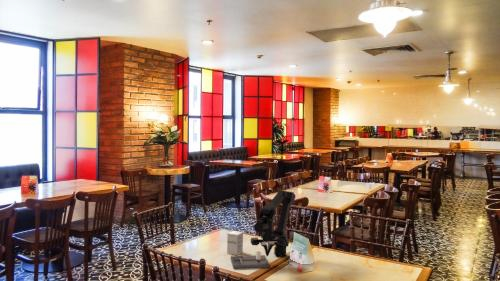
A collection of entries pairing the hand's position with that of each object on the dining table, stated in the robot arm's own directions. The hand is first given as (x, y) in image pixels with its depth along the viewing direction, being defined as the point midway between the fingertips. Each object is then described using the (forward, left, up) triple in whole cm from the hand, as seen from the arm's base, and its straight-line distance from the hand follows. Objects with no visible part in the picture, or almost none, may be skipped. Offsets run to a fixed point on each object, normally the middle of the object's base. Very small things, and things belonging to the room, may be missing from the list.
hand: (267, 255), depth 221 cm
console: (+10, 0, -4) cm, 11 cm away
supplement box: (+16, -19, -4) cm, 25 cm away
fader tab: (+5, 0, -2) cm, 5 cm away
